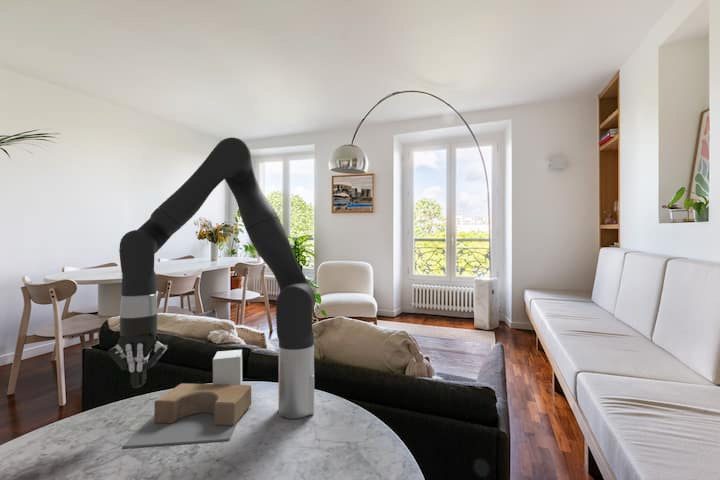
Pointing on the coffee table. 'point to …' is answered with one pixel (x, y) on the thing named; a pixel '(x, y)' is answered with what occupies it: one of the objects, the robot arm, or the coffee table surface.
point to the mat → (181, 432)
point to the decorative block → (203, 402)
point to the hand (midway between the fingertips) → (138, 386)
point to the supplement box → (227, 367)
